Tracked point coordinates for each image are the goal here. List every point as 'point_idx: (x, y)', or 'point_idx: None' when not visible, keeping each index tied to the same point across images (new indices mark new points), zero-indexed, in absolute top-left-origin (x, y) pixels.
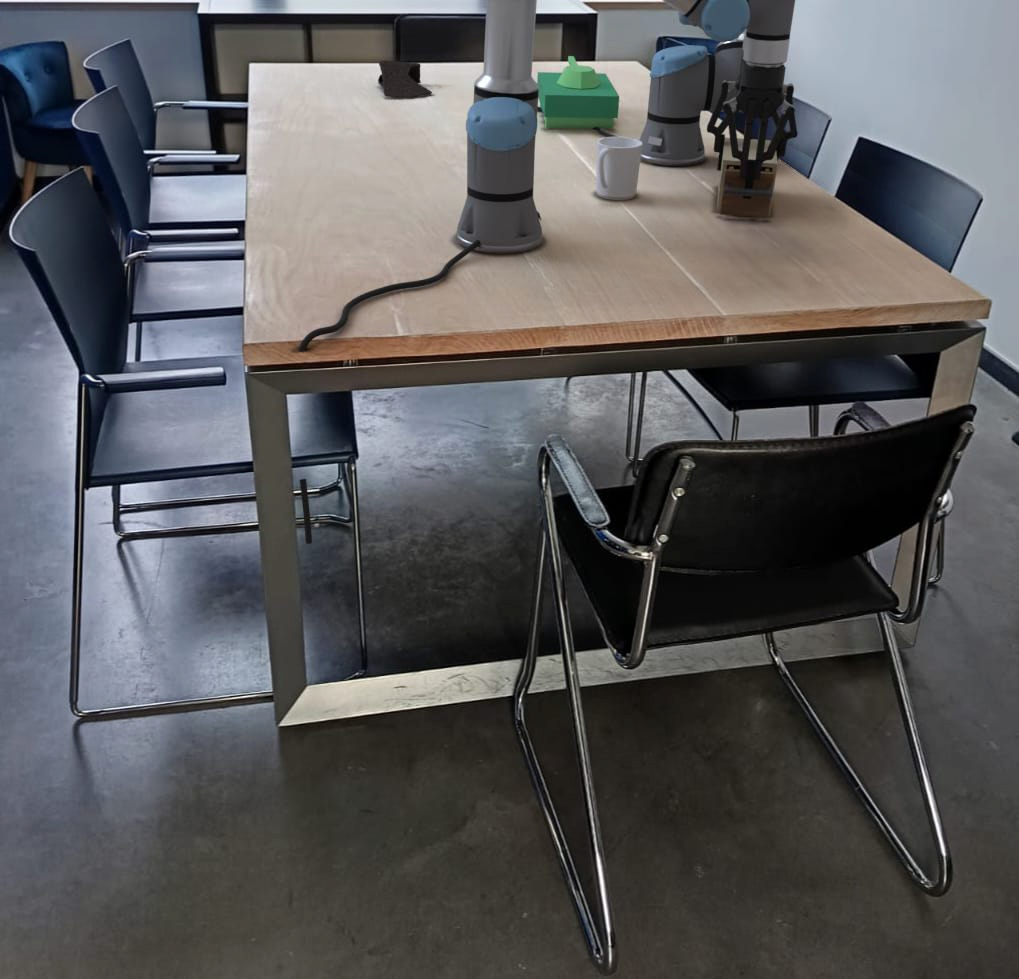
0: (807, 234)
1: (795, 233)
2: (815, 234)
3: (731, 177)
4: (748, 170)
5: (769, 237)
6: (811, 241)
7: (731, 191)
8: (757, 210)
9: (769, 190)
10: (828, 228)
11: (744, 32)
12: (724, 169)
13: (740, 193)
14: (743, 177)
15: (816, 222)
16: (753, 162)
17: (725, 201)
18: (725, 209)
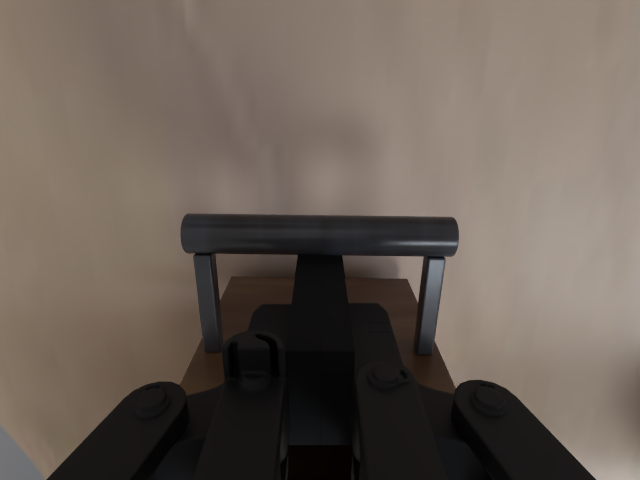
0: (76, 163)
1: (121, 165)
2: (47, 170)
3: (412, 373)
4: (336, 316)
5: (215, 88)
6: (45, 75)
7: (415, 219)
8: (269, 288)
9: (198, 238)
10: (16, 250)
11: None
12: None
13: (362, 216)
14: (358, 309)
15: (69, 303)
16: (304, 379)
17: (403, 303)
18: (393, 287)
